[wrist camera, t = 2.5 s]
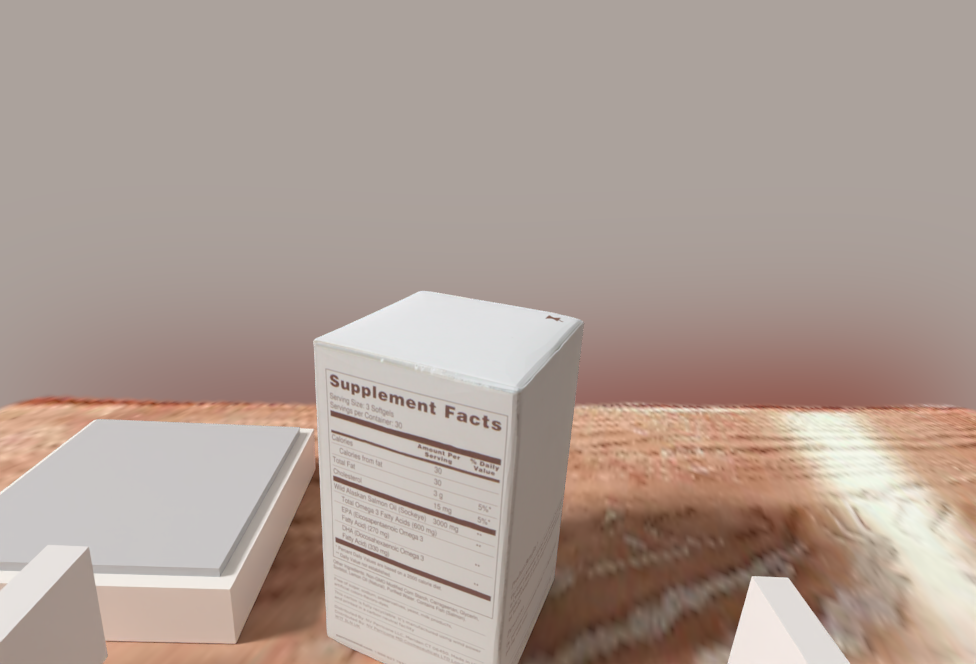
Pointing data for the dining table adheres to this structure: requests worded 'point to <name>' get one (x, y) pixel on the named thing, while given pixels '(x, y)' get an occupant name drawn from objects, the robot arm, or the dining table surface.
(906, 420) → the dining table surface
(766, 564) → the dining table surface
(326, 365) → the supplement box
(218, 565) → the pedestal
